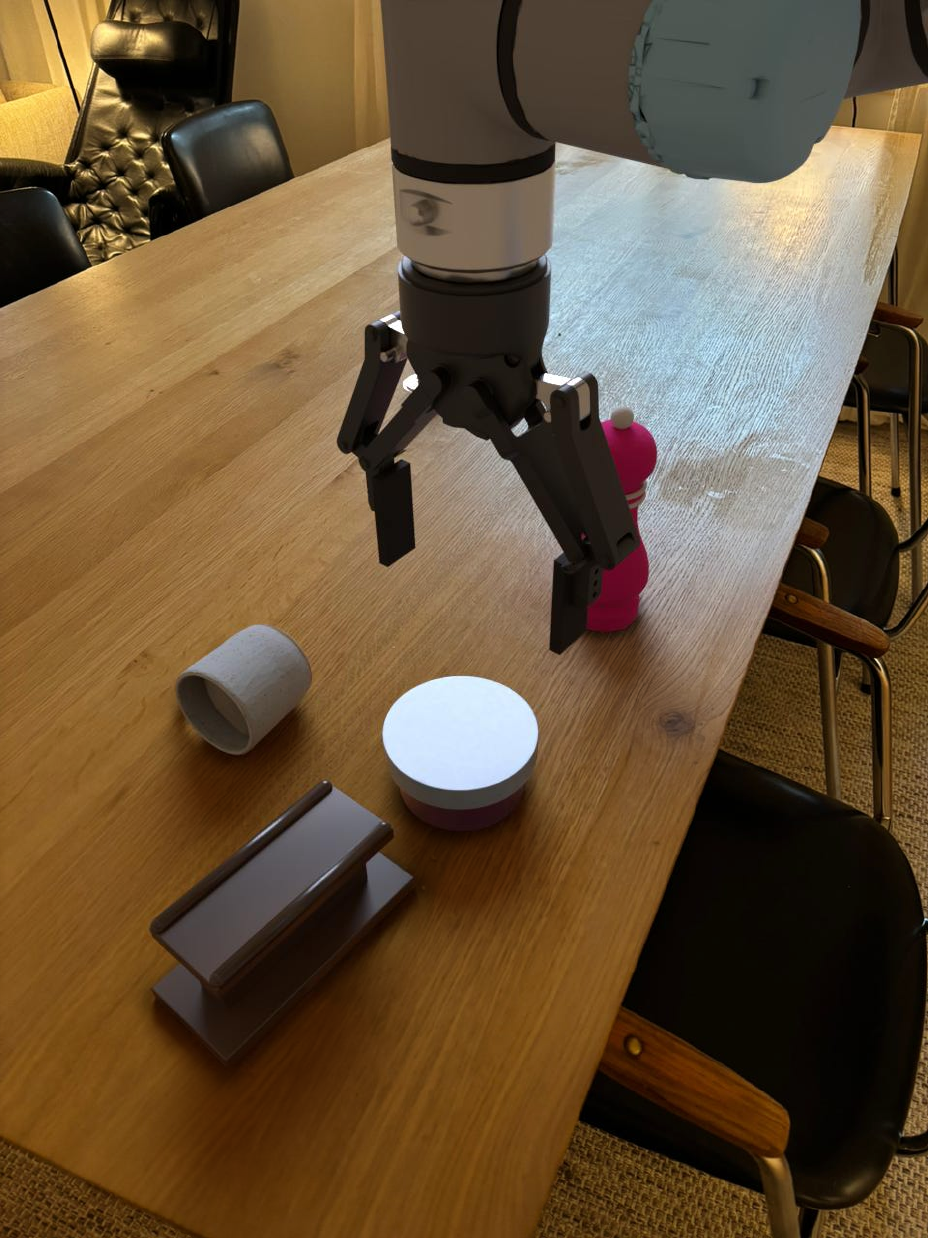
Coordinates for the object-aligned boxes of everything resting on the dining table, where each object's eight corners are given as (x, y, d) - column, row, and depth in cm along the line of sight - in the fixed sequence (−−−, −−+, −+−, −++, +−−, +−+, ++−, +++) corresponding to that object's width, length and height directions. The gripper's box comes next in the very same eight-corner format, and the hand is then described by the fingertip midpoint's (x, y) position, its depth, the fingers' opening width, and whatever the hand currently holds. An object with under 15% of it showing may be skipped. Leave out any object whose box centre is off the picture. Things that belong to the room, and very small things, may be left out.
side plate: (568, 741, 71) (569, 721, 70) (471, 837, 65) (470, 818, 64) (452, 674, 77) (451, 655, 76) (351, 756, 71) (349, 737, 69)
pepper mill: (544, 608, 88) (555, 406, 75) (598, 574, 92) (617, 375, 79) (606, 648, 84) (629, 441, 71) (660, 610, 88) (691, 407, 75)
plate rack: (415, 887, 66) (410, 816, 61) (229, 1071, 57) (205, 1005, 52) (341, 833, 70) (331, 762, 65) (154, 998, 60) (126, 930, 56)
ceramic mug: (324, 702, 79) (312, 630, 75) (259, 770, 74) (241, 696, 69) (223, 659, 84) (205, 588, 79) (154, 721, 78) (131, 648, 73)
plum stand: (548, 774, 74) (551, 742, 71) (469, 854, 68) (469, 822, 66) (454, 717, 78) (453, 685, 76) (373, 788, 73) (370, 756, 71)
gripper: (244, 222, 52) (296, 550, 66) (656, 349, 40) (614, 720, 53) (346, 187, 56) (374, 501, 70) (745, 290, 44) (685, 647, 58)
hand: (478, 596), depth 62 cm, fingers open, 13 cm apart
